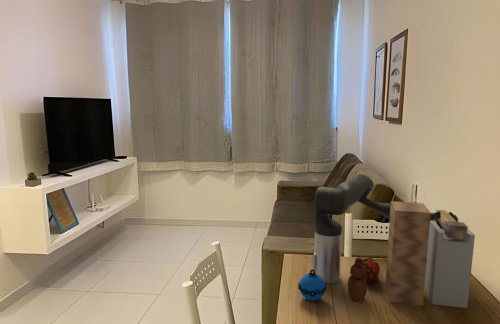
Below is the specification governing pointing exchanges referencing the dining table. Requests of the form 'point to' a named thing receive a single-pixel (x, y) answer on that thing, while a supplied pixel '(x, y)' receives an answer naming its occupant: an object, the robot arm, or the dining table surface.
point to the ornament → (312, 286)
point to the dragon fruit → (370, 269)
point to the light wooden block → (452, 226)
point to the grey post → (448, 267)
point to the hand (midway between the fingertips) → (445, 214)
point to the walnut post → (407, 252)
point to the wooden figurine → (357, 281)
